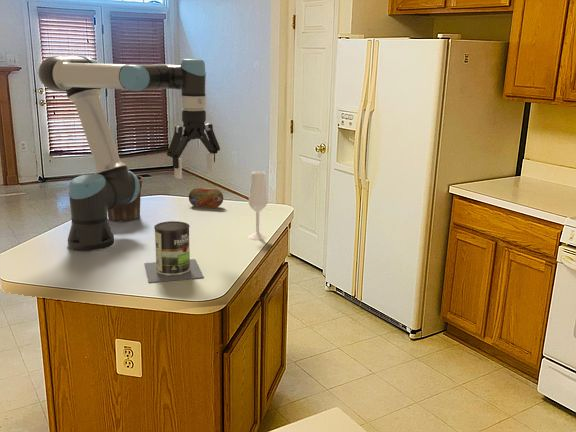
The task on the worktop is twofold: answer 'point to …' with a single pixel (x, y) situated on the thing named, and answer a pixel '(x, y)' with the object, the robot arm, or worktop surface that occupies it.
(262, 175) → the champagne flute
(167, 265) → the coffee can
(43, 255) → the worktop surface
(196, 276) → the dot mat
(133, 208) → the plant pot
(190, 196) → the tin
